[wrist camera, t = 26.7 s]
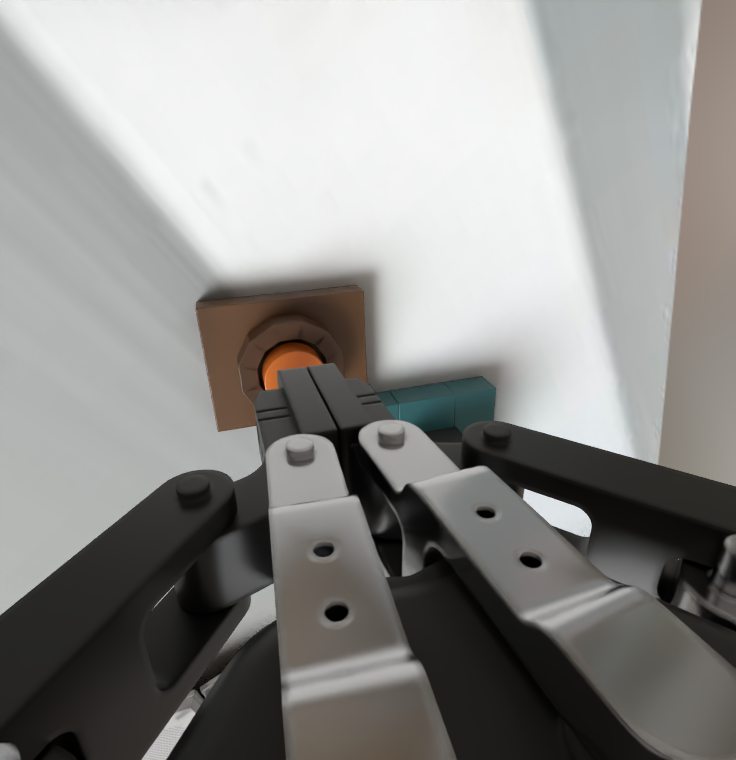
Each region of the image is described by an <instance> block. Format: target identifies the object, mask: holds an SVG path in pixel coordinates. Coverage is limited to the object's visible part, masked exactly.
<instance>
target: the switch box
mask: <svg viewBox="0 0 736 760" xmlns="http://www.w3.org/2000/svg"><path fill="white" fill-rule="evenodd" d="M195 310H196V315H197V320H198V326H199V331H200V337H201V342H202V348H203V353H204V359H205V364H206V369H207V375H208V380H209V386H210V391H211V397H212V402H213V407H214V413H215V418H216V424H217V429H218V432H220V431H227V430H233V429H239V428H245V427H251V426H257V425H256V417H255V409H254V400H255V398H256V396H257V395H258V393H259V392H260V391H264V390H266V389H265V385H264V380H263V376H262V367H263V363H264V361H265V359H266V357H267V356H268V354H269V353H270V352H271V351H272V350H273V349H275V348H276V347H278V346H280V345H282V344H285V343H290V342H297V343H302V344H305V345H308V346H309V347H311V348H312V349H314V350H315V351H316V353H317V354H318V355H319V357H320V359H321V361H322V363H323V364H329V363H335V365H336V366H337V368H338V369H339V371H340V372H341V374H342V375H343V377H344V378H345V379H350V378H358V379H359V380H361V381H363V382H365V383H367V367H366V341H365V315H364V291H363V290H362V289H361V288H360V287H359V286H357V285H354V286H345V287H335V288H325V289H316V290H306V291H296V292H287V293H277V294H267V295H258V296H248V297H238V298H229V299H219V300H209V301H200V302H196V309H195Z"/></svg>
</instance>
